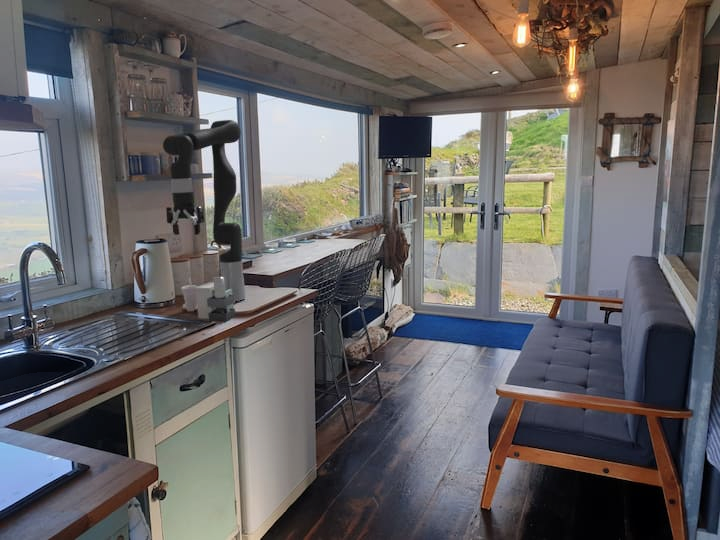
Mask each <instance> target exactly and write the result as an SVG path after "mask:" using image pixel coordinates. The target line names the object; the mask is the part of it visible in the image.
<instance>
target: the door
mask: <svg viewBox="0 0 720 540" xmlns="http://www.w3.org/2000/svg"><path fill="white" fill-rule="evenodd" d="M212 282H214V293H215V299H226V298H228V297H229V295H232V289H229V290H227V291H225V281H224V277H223V276H221V275H220V276H214V277H213V278H212ZM230 309H235V308H234V303H232V304H231V305H229V306H227V307H216V313H222V314H226V313H227V312H229V311H230Z"/></svg>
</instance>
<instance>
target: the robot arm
mask: <svg viewBox="0 0 720 540" xmlns="http://www.w3.org/2000/svg"><path fill="white" fill-rule="evenodd" d="M241 134H242V133H241V127H240V124H239V123H238V122H237V121H235V120H233V119H224V120H215V121H213V122H212V123H211V125H210V127H209V128H203V129H202V128H201V129H196V130H192V131H189V132H187V133H179V134H171V135H168V136H167V137H165V138H164V140H163V141H162V142H163V143H162V147H163V150H164V152H165V153H166V154H168V155H169V156H178V158H177V161H175V162H172V163H170V167H169V168H170V177H171V181H170V182H171V195H172V196H171V197H172V204H173V206H168V207H166V223H167V224H171V226H172V233H173V234H174V235H175V236H177V235H180V228H179V226H180V225H179V222H180V221H181V219H185V220H186V219H187V220H188V219H189V221H191V222H192V223H193V229H194V230H193V231H194V235H195V236H198V235H200V233H201V224H203V223H205V215H204V209H203V208H204V207H203V206H201V205H200V206H197V207H196V206H195V196H194V195H195V194H194V193H195V192H194V184H193V180H192V172H191V171H192V170H191V169H192V168H191V166H192V160H193V154H194V152H196V151H199V150H202V149H206V148H208V147H211V150H212V163H213V165H212V166H213V168H212V169H213V178H212V179H213V197H214V198H213V201H214V202H213V203H214V206H213V209H214V210H213V211H214V212H213V224H212V225H213V226H212V227H213V228H212V237H213V240H214V243H215V244H216V245H219V246H230V247H229V250H227V251H226V252H223V253H220V255H219V268H220V276H223V277H224V281H225V291H227V290H229V289H232V295H234V301H240V300H243V299H245V298H246V290H245V289H246V288H245V278H244V277H245V276H244V271H243V270H244V269H243V240H242V239H243V238H242V237H243V235H242V227H241V226H240V224H239V223H237V222H225V220H226V214H227V210H228V208H229V206H230V204H231V203H232V201H233V199H234V198H235V196H236V193H237V175H236V172H235V170H234V168H233V166H232V165H231V163H230V162H229V160H228V158H227V156H226V155H227V154H226V149H225V148H226V146H225V145H226V144H232V143H233V144H234V143H236V142H238V140H239V139H240V138H241V136H242V135H241ZM174 213H175V214H174ZM245 300H246V299H245ZM243 301H244V300H243ZM240 302H241V301H240Z"/></svg>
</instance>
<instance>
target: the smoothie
mask: <svg viewBox="0 0 720 540" xmlns="http://www.w3.org/2000/svg"><path fill="white" fill-rule="evenodd" d="M188 279H189V280H188V281H189V285H188V284H187V285H183V286H181V287H180V288H181V291H182V295H183V298H184V303H185V307H186V312H195V311H194V309H195V308H196V307H197V298H196V287H198V286H199V285H196V284H192V278H191V275H190V276H189V278H188Z"/></svg>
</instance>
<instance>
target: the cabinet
mask: <svg viewBox="0 0 720 540" xmlns="http://www.w3.org/2000/svg"><path fill="white" fill-rule="evenodd" d="M197 286H198V287H196V298H197V316H198V319H204V320H205V319H208V321H209V322H223V323H225V322H226V323H227V322H228V321H230V320H233V318H235V317H236V309H235V308H234V309H230V311H229V312H227V313H226V314H222V313H216V307H227V306H229V305H231V304H232V303H233V304H234V303H235V302H234V295H229V297H228V298H226V299H215V293H214V282H213V281H208V282H205V283H203V284H201V285H197Z"/></svg>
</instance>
